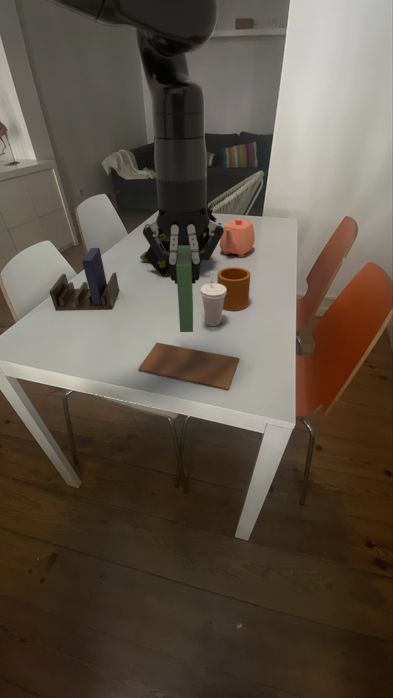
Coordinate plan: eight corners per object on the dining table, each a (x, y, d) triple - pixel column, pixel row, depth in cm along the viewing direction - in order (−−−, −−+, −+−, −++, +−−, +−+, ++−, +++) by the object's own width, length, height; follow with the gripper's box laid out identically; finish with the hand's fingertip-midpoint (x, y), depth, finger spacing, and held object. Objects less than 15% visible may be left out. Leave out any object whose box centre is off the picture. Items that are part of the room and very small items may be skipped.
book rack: (55, 310, 89) (49, 291, 85) (67, 292, 98) (62, 273, 94) (112, 309, 89) (108, 290, 85) (119, 291, 98) (116, 272, 94)
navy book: (93, 304, 89) (81, 260, 81) (100, 289, 96) (90, 247, 88) (101, 304, 89) (91, 260, 81) (108, 289, 96) (99, 247, 88)
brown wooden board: (138, 371, 68) (137, 369, 68) (156, 344, 76) (156, 342, 76) (228, 390, 63) (228, 388, 63) (239, 359, 71) (239, 357, 70)
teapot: (231, 241, 130) (233, 210, 122) (259, 246, 125) (263, 214, 118) (210, 259, 116) (210, 225, 109) (240, 264, 112) (243, 230, 104)
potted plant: (129, 276, 109) (147, 202, 84) (150, 237, 121) (171, 163, 97) (186, 302, 112) (219, 238, 88) (201, 261, 125) (234, 195, 100)
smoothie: (205, 314, 86) (205, 265, 78) (228, 318, 84) (230, 268, 76) (197, 326, 82) (196, 276, 73) (221, 331, 80) (223, 279, 71)
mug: (259, 297, 93) (262, 268, 88) (237, 314, 86) (240, 284, 80) (233, 288, 98) (235, 260, 92) (210, 304, 90) (211, 275, 85)
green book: (180, 332, 59) (176, 265, 51) (181, 307, 66) (178, 245, 58) (193, 332, 59) (191, 265, 51) (193, 307, 66) (191, 245, 58)
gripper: (129, 179, 44) (144, 292, 54) (230, 177, 44) (225, 290, 54) (137, 170, 50) (149, 273, 60) (226, 168, 50) (222, 272, 60)
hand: (185, 281), depth 57 cm, fingers closed on green book, 2 cm apart
